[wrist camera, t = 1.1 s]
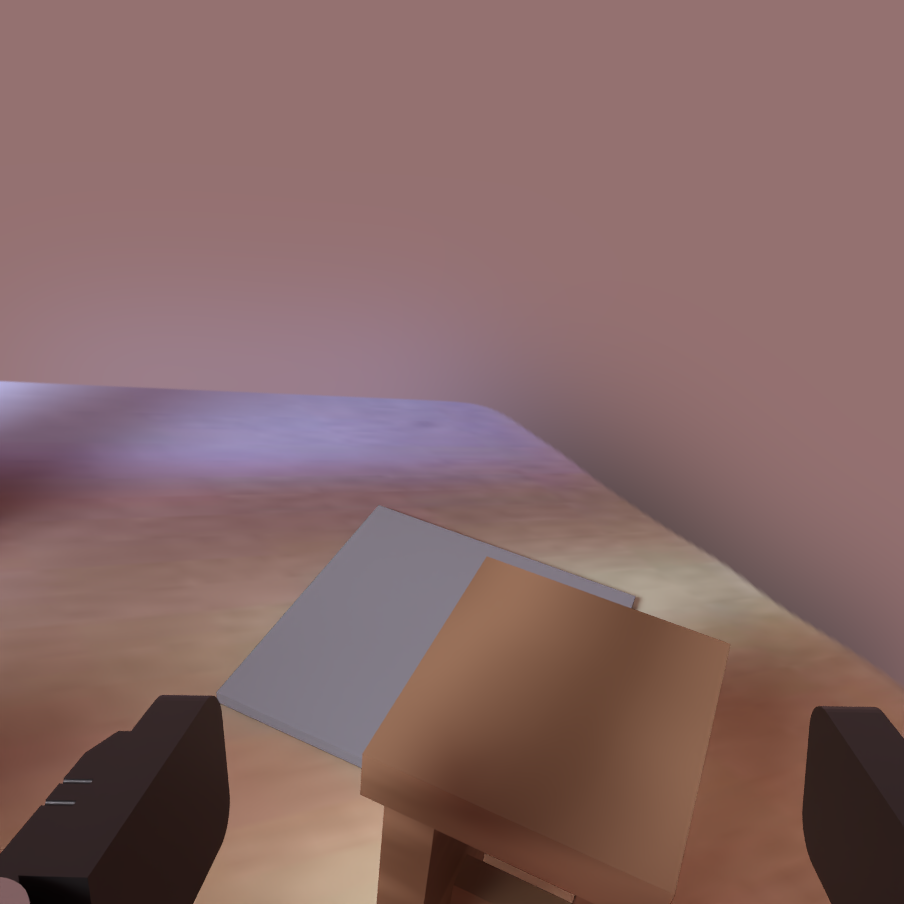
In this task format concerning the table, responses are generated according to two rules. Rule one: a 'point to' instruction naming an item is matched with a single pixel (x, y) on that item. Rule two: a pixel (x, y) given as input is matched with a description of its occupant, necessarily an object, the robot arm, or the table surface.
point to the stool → (543, 749)
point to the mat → (367, 631)
